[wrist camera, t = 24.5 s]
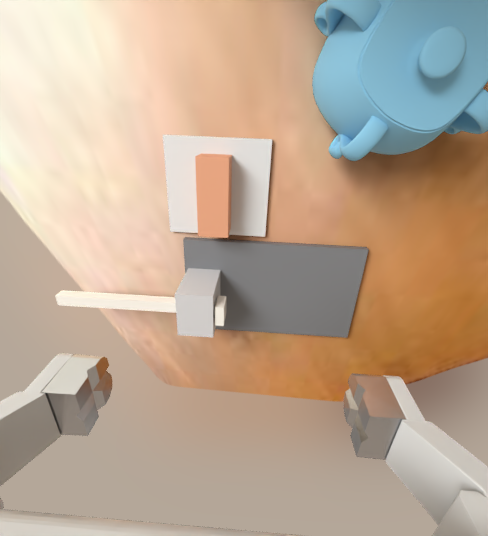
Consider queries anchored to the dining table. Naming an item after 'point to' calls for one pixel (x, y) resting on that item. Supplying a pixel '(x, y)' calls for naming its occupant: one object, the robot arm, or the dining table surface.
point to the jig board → (269, 287)
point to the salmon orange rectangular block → (213, 194)
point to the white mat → (243, 181)
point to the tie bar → (132, 302)
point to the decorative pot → (401, 72)
